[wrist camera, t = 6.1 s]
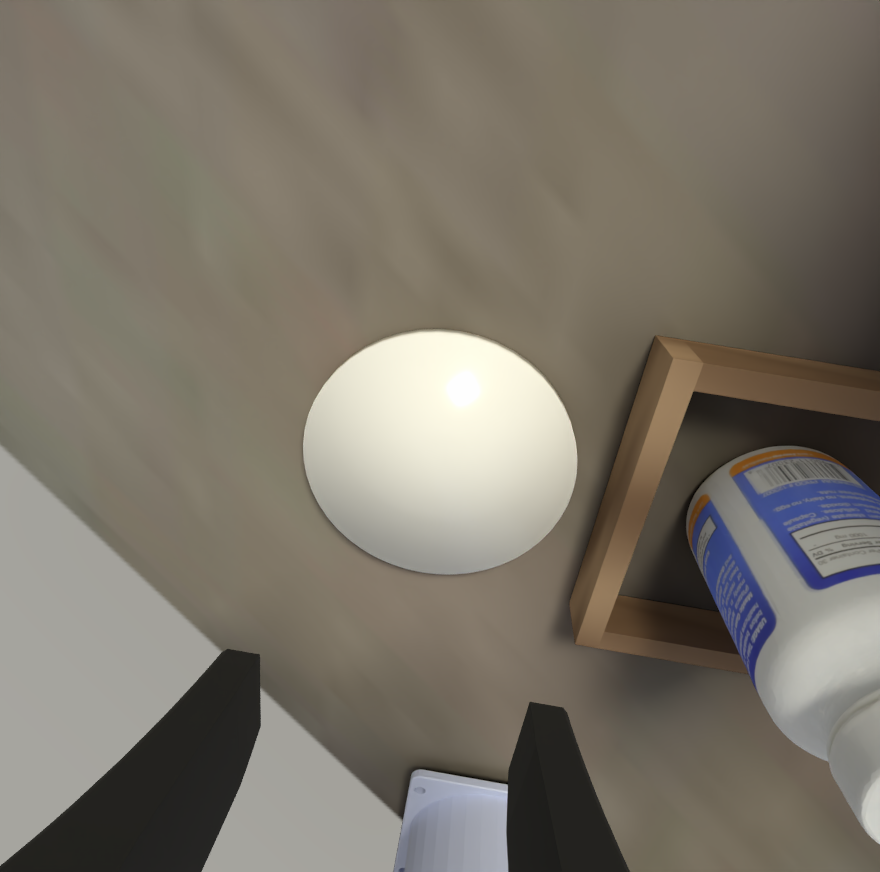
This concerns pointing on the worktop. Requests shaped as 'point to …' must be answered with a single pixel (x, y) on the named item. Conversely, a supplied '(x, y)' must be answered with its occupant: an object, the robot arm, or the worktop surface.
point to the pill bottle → (802, 601)
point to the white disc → (440, 451)
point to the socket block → (640, 470)
